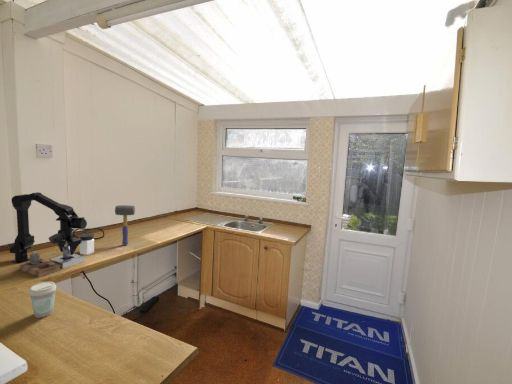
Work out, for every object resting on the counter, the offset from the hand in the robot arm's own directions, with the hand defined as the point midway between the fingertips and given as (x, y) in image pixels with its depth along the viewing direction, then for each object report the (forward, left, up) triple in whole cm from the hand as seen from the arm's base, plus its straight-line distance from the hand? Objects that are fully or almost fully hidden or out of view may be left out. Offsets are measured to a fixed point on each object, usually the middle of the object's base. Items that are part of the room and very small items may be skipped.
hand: (66, 253), depth 150 cm
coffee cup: (+43, -35, -6) cm, 56 cm away
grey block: (0, 0, -6) cm, 6 cm away
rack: (-2, -13, -6) cm, 14 cm away
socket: (0, 0, -6) cm, 6 cm away
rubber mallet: (+2, +39, -6) cm, 40 cm away
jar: (-6, +16, -6) cm, 18 cm away
